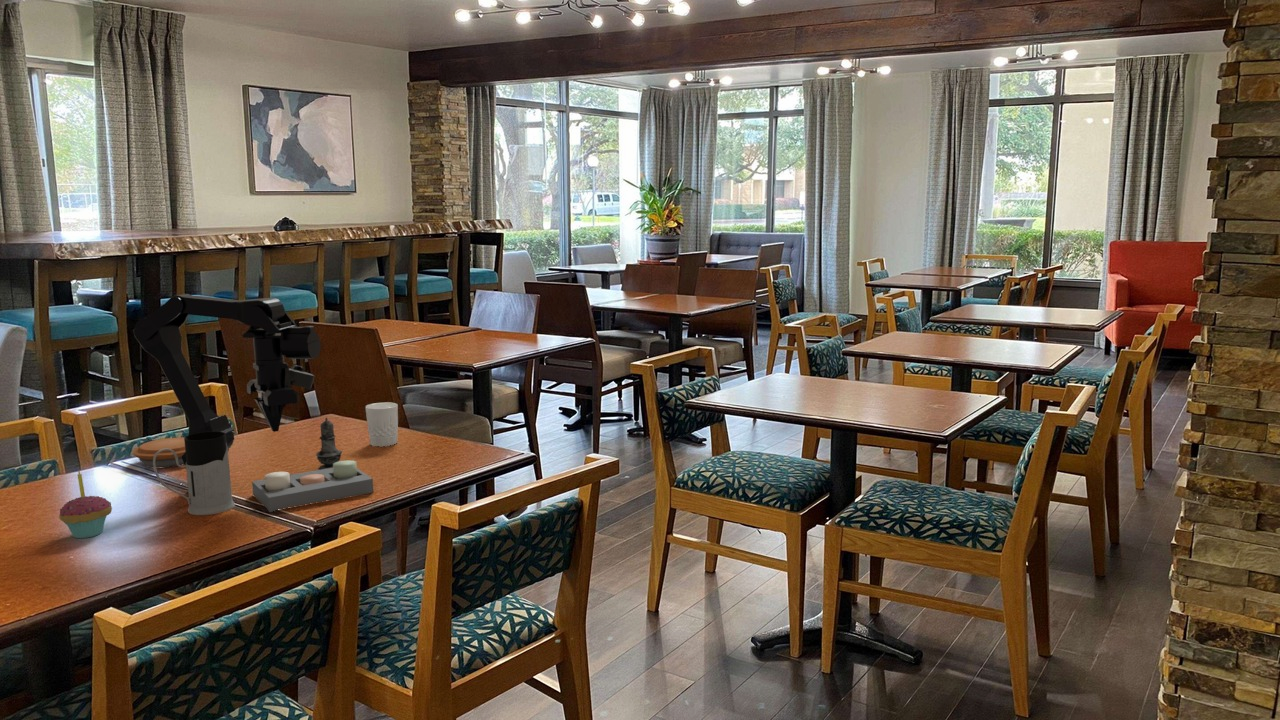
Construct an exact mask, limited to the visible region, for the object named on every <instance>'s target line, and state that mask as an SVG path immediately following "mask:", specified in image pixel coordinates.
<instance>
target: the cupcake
mask: <svg viewBox="0 0 1280 720" xmlns="http://www.w3.org/2000/svg"><path fill="white" fill-rule="evenodd" d="M77 472H78V474H77V479H78V481H77V482H78V486H79V487H78V488H79V493H80V496H79V497H76V498H74V499H73V498H72V499H71V500H69V501H68V502H66V503H65V504H64V505H63V506H62V507H61V508H59V516H58V518H59V520H60V521H61V522H63V523H64V524H65V525H66V526H67V527H68V529H69V532H70V533H71V535H72V537H73V538H75V539H87V538H93V537H95V536H99V535H100V534H102V533H103V531H104V525H105V522H106V518H107V516H109V515H110V514H111V513H112V510H113V507H112V502H111V501H109V500H108V499H106V498H104V497H103V496H101V497H100V496H98V495H87V496H86V494H85V487H84V482H83V477H82V475H83V474H82V473H80V472H81V471H80V469H78V470H77Z"/></svg>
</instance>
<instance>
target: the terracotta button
mask: <svg viewBox="0 0 1280 720" xmlns="http://www.w3.org/2000/svg"><path fill="white" fill-rule="evenodd" d="M320 482H325V480H324V475H321V474H311V475H306V476H303V477H301V478H300V484H301V485H302V486H303V485H309V484H315V483H320Z"/></svg>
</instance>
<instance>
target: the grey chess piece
mask: <svg viewBox="0 0 1280 720" xmlns="http://www.w3.org/2000/svg"><path fill="white" fill-rule="evenodd" d="M320 435H321V436H319V439H320V443H321V444H320V445H321V447H320V451H318V452H315V456H316V458H317V461H318V463H320V464H321V465H320V466H318V468H317V470H321V469H327V468H333V464H334V463H336V462H339V461H341V457H342V454H343V451H342V450H341V449H338V448H337V446H336V441H335V439H336V437H337V436H336V435H335V430H334V423H333V422H332V421H330V420H329V419H328V418H327V417H325V418H324V421H323V422H322V423H320Z"/></svg>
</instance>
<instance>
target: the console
mask: <svg viewBox="0 0 1280 720" xmlns="http://www.w3.org/2000/svg"><path fill="white" fill-rule="evenodd" d="M311 474H321V475H324V480H325V482H320V483H315V484H309V485H303V486H302V485H301V484H300V478H301V477H303V476H306V475H311ZM289 475H290V488H287V489H281V490H275V491H270V492H267V491H266V489H265V478H264V479H257V480H253V481H251V486H252V487H251V488H252V496H253V495H254V496H255V497H256V498H257V499H258V500H259V501H260V502H261V503H262V504H263V505H264V506H265V507H266V508H267V509H266V508H265V507H264V506H263V505H262V504H261V503H260V502H259V501H258V500H257V499H256V498H255V499H256V500H257V501H258V502H259V503H260V504H261V505H262V506H263V507H264V508H265V509H266V510H267V511H268V512H269V513H273V511H274V512H276V511H275V510H278V509H283V508H288V507H294V506H299V505H305V504H310V503H316V502H321V503H323V502H322V501H326V500H331V501H334V500H333V499H337V500H340V499H339V498H342V499H346V498H345V497H347V498H351V497H350V496H352V497H357V496H356V495H358V496H361V495H367V494H372V493H374V479H373V478H372V477H371V476H369V475H368V474H366V473H364V472H363V471H362V470H360V469H359V468H357V476H354V477H348V478H342V479H337V480H336V479H335V478H334V472H333V468H327V469H321V470H318V469H316V470H311V471H305V472H304V471H303V472H300V473H293V474H289ZM254 496H253V497H254ZM326 502H327V501H326ZM316 504H317V503H316ZM305 506H306V505H305Z"/></svg>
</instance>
